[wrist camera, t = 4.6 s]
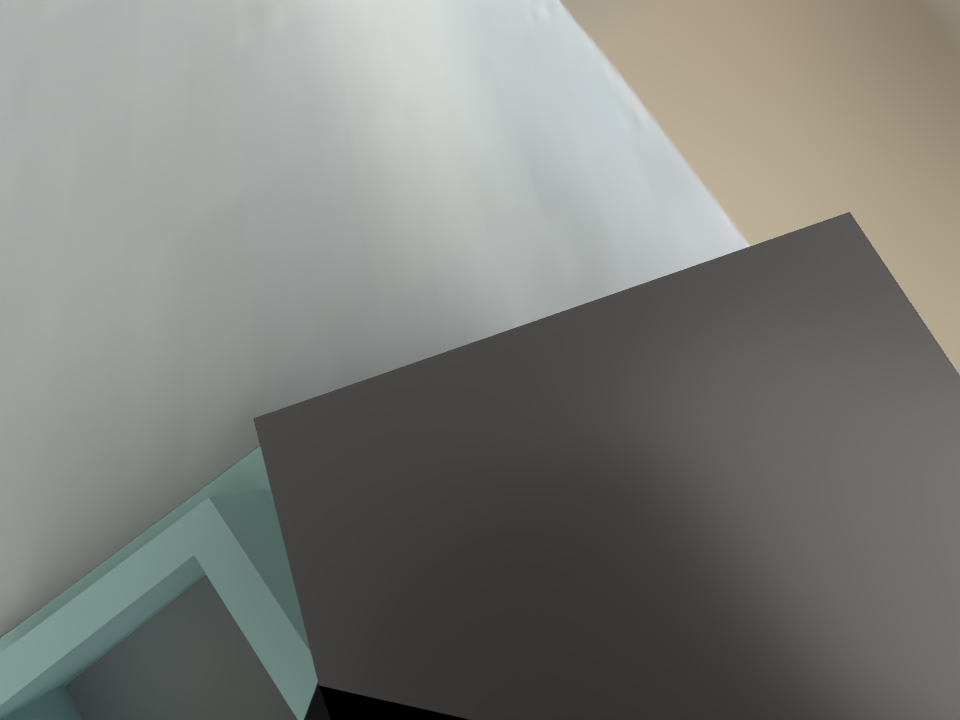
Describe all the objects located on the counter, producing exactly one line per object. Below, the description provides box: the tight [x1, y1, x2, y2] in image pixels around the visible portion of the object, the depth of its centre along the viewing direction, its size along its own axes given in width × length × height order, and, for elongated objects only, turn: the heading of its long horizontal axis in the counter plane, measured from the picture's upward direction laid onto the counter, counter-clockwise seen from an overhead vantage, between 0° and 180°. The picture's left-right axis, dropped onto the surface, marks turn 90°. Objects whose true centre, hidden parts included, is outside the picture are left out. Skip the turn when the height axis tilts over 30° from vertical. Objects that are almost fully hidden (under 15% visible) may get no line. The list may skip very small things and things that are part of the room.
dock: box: [0, 446, 318, 720], centre depth 11 cm, size 11×11×4 cm
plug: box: [254, 212, 960, 720], centre depth 8 cm, size 4×4×13 cm
